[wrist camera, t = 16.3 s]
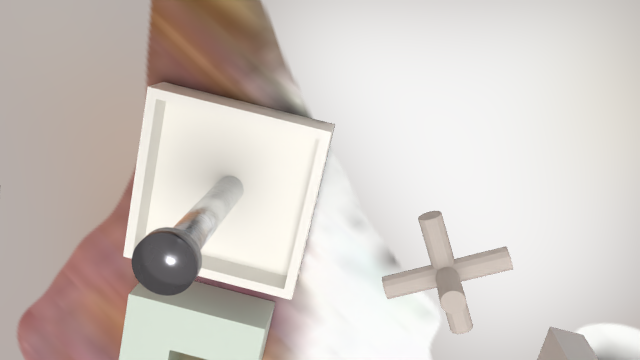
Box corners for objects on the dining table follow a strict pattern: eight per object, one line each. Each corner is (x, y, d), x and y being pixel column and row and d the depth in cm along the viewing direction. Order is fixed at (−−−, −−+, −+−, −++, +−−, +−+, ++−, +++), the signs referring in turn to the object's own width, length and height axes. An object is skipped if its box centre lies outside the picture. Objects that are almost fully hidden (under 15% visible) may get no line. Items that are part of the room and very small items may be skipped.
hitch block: (150, 269, 55) (128, 293, 50) (275, 302, 55) (265, 329, 50) (133, 377, 59) (111, 410, 54) (250, 408, 58) (238, 444, 53)
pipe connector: (368, 211, 51) (365, 256, 42) (483, 181, 50) (507, 220, 40) (400, 312, 54) (404, 376, 44) (510, 286, 52) (539, 347, 42)
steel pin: (211, 161, 51) (136, 226, 35) (256, 172, 51) (201, 243, 35) (203, 204, 52) (127, 286, 36) (248, 215, 52) (190, 302, 36)
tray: (163, 81, 50) (147, 86, 47) (335, 124, 50) (331, 132, 46) (139, 241, 55) (123, 256, 51) (296, 282, 54) (291, 299, 51)
